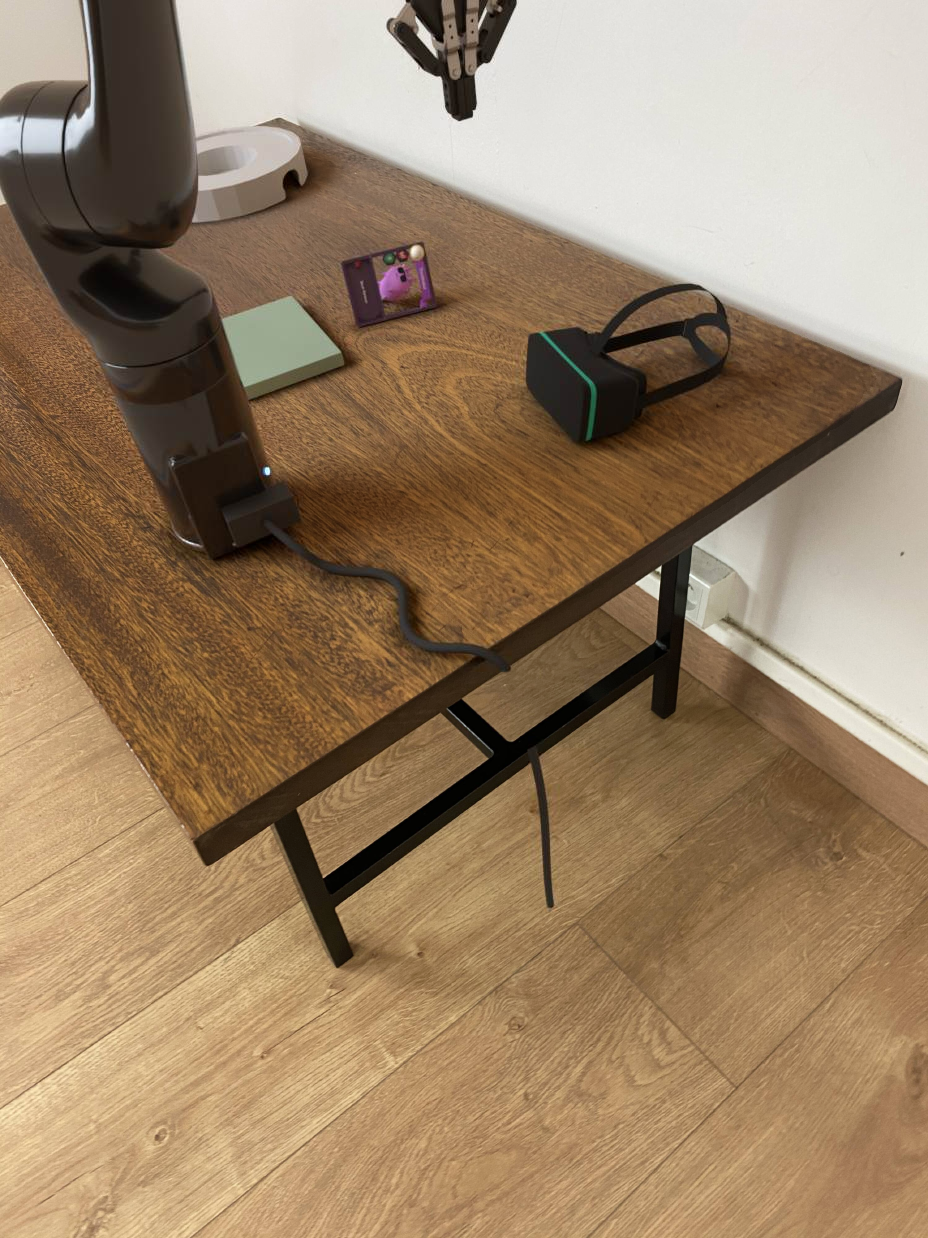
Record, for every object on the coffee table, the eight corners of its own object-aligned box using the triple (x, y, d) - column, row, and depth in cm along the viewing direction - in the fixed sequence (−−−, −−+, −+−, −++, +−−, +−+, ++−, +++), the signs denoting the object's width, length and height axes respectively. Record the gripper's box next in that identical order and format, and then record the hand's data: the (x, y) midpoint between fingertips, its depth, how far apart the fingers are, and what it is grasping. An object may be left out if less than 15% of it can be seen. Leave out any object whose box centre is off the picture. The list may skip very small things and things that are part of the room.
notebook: (344, 364, 92) (341, 351, 91) (243, 402, 89) (238, 389, 88) (294, 307, 102) (291, 294, 100) (201, 339, 99) (197, 326, 98)
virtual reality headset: (524, 386, 85) (530, 282, 78) (679, 354, 89) (698, 253, 82) (578, 447, 78) (590, 338, 71) (744, 410, 82) (771, 304, 75)
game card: (341, 261, 93) (424, 241, 94) (335, 258, 98) (415, 239, 99) (358, 328, 96) (438, 307, 97) (351, 322, 101) (428, 302, 102)
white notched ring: (288, 142, 138) (281, 113, 135) (325, 194, 123) (318, 163, 120) (138, 179, 134) (128, 150, 132) (157, 237, 119) (146, 206, 116)
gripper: (387, -84, 73) (418, 145, 85) (530, -116, 76) (539, 109, 89) (353, -93, 78) (386, 125, 90) (488, -122, 81) (502, 92, 93)
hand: (462, 117), depth 89 cm, fingers closed
